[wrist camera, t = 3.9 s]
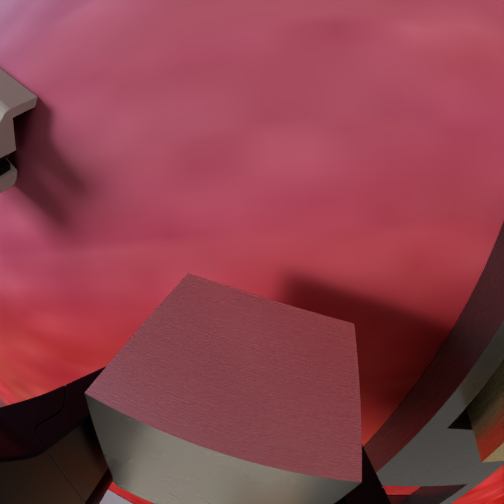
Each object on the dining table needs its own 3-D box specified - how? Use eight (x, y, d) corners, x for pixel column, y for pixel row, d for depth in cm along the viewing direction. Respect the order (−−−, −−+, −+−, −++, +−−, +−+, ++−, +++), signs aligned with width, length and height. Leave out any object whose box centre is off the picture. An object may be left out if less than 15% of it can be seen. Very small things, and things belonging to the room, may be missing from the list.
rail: (402, 507, 17) (403, 530, 14) (306, 500, 18) (301, 526, 15) (609, 258, 7) (635, 279, 5) (514, 189, 8) (553, 207, 6)
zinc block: (300, 422, 10) (278, 538, 6) (175, 383, 11) (115, 485, 6) (354, 323, 8) (361, 482, 4) (188, 273, 9) (84, 392, 4)
